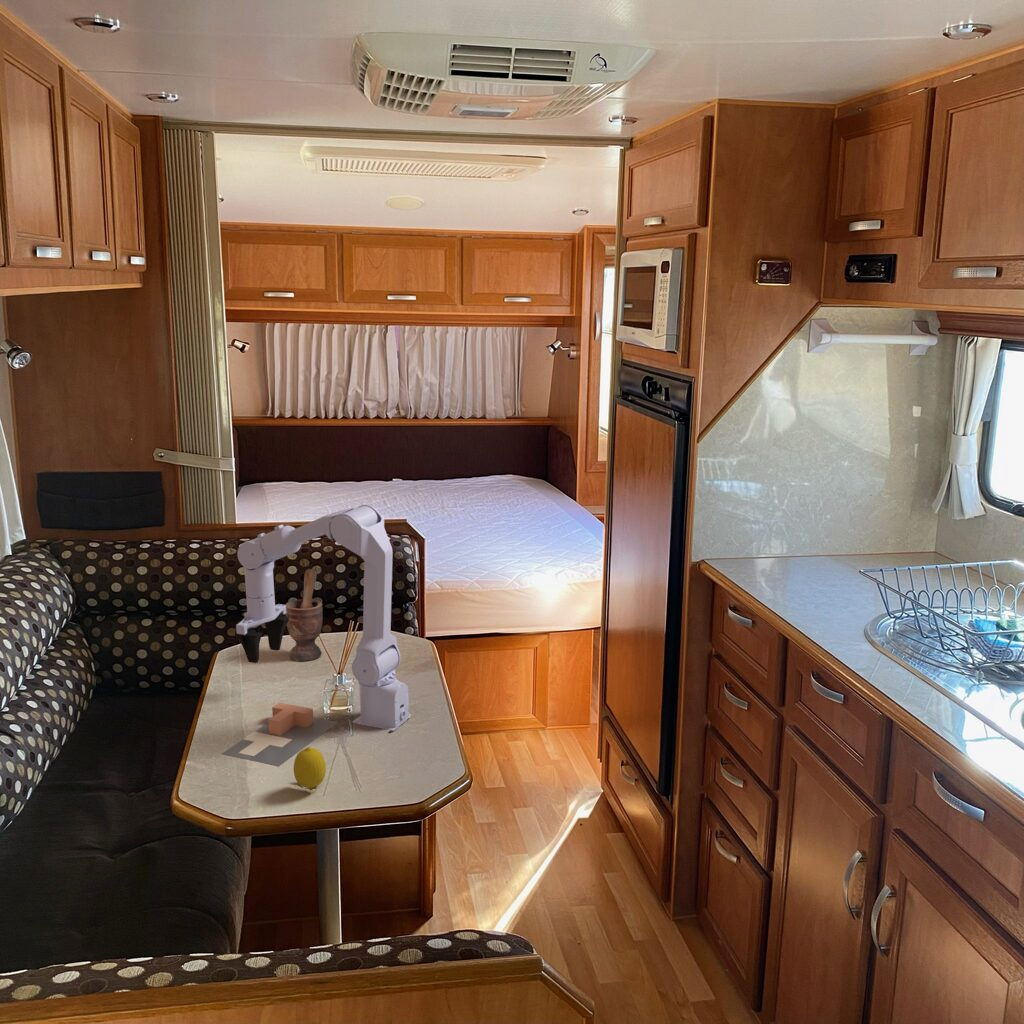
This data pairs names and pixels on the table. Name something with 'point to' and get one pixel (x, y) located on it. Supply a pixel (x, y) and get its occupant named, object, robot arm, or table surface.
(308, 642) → the mortar and pestle
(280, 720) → the t block
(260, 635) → the robot arm
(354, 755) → the table surface
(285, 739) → the slate board
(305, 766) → the lemon
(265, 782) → the table surface
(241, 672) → the table surface
